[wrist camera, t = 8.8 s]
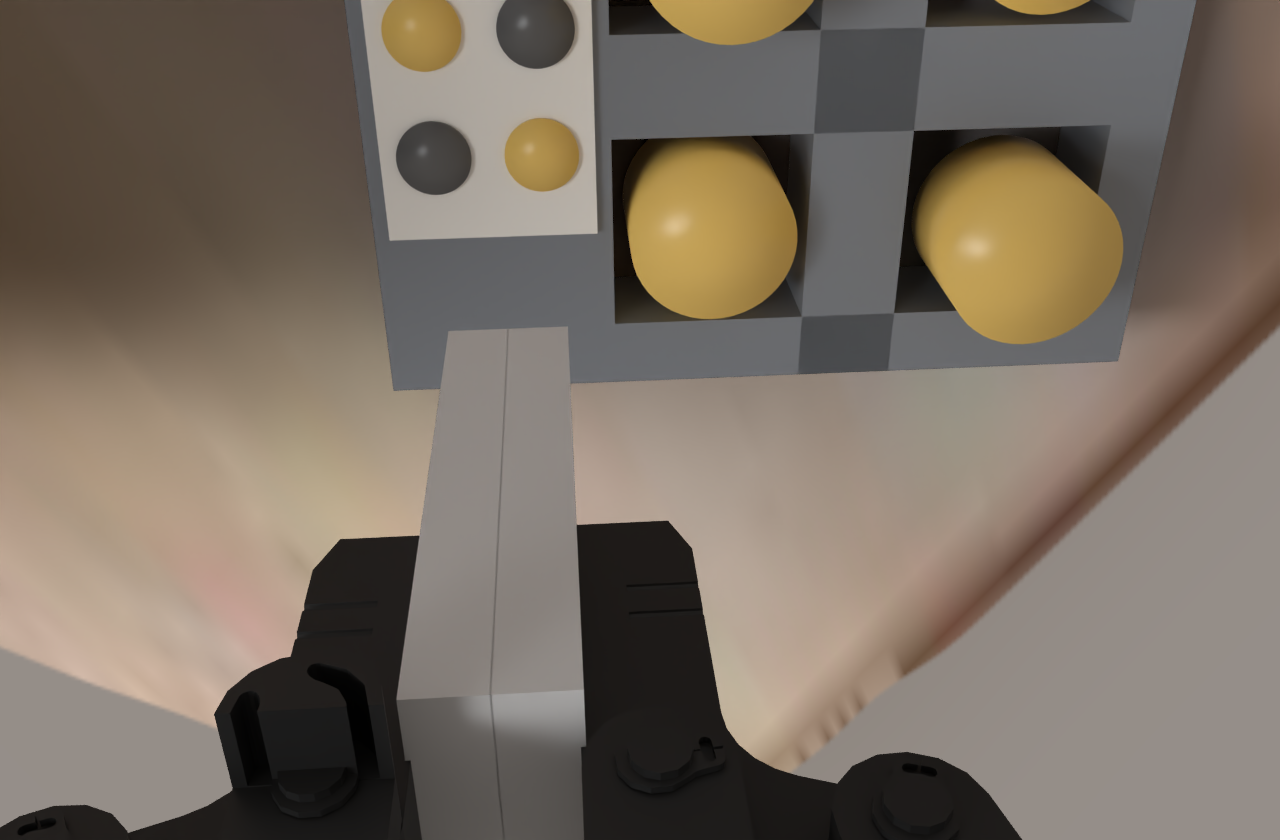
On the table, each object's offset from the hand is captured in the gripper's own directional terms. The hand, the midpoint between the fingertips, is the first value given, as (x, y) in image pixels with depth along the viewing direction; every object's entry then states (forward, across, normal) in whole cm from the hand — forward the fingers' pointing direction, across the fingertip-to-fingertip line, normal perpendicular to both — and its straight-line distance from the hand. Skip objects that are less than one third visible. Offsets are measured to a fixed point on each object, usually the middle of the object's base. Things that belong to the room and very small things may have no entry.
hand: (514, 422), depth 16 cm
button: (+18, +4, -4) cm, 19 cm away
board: (+18, +6, 0) cm, 19 cm away
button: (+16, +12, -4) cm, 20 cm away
